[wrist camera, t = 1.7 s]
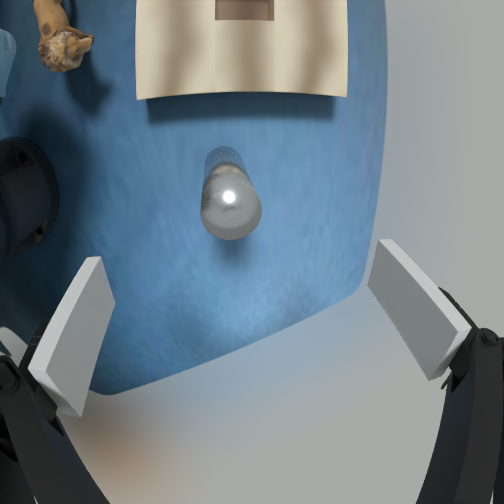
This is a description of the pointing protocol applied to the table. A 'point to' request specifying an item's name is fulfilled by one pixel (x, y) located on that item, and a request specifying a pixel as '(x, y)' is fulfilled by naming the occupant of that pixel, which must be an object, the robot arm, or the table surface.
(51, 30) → the lion figurine
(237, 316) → the table surface
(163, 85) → the maple block
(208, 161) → the metal peg
